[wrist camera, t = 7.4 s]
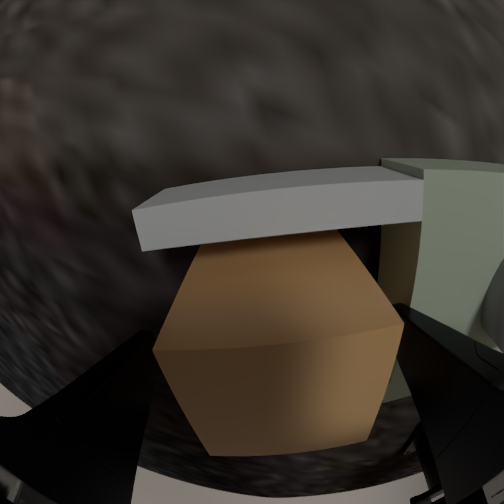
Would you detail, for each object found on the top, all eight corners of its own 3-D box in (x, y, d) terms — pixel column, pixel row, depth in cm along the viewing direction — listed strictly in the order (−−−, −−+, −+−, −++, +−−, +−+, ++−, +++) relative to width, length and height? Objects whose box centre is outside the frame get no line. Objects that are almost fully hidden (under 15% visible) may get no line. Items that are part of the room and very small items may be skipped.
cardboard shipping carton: (332, 329, 12) (366, 440, 7) (225, 340, 13) (210, 455, 7) (333, 226, 10) (404, 323, 5) (202, 240, 11) (152, 350, 5)
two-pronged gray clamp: (525, 167, 8) (591, 192, 4) (494, 321, 12) (533, 368, 8) (163, 181, 10) (90, 222, 5) (214, 377, 13) (202, 459, 9)
